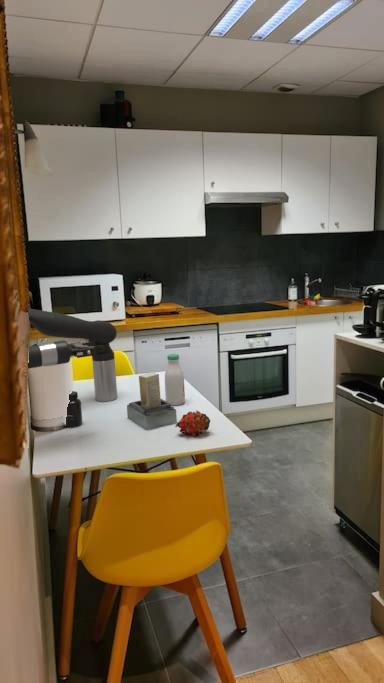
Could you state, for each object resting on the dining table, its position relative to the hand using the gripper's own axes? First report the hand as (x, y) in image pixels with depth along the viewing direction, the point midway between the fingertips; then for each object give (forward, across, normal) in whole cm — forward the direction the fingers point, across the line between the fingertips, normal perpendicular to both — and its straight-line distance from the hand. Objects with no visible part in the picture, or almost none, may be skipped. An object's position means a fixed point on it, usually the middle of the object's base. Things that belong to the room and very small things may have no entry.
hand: (99, 346), depth 170 cm
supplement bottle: (-8, +12, +30) cm, 33 cm away
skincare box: (+17, -2, +25) cm, 30 cm away
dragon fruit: (+22, -23, +30) cm, 44 cm away
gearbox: (+17, -2, +30) cm, 34 cm away
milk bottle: (+34, +10, +30) cm, 46 cm away
